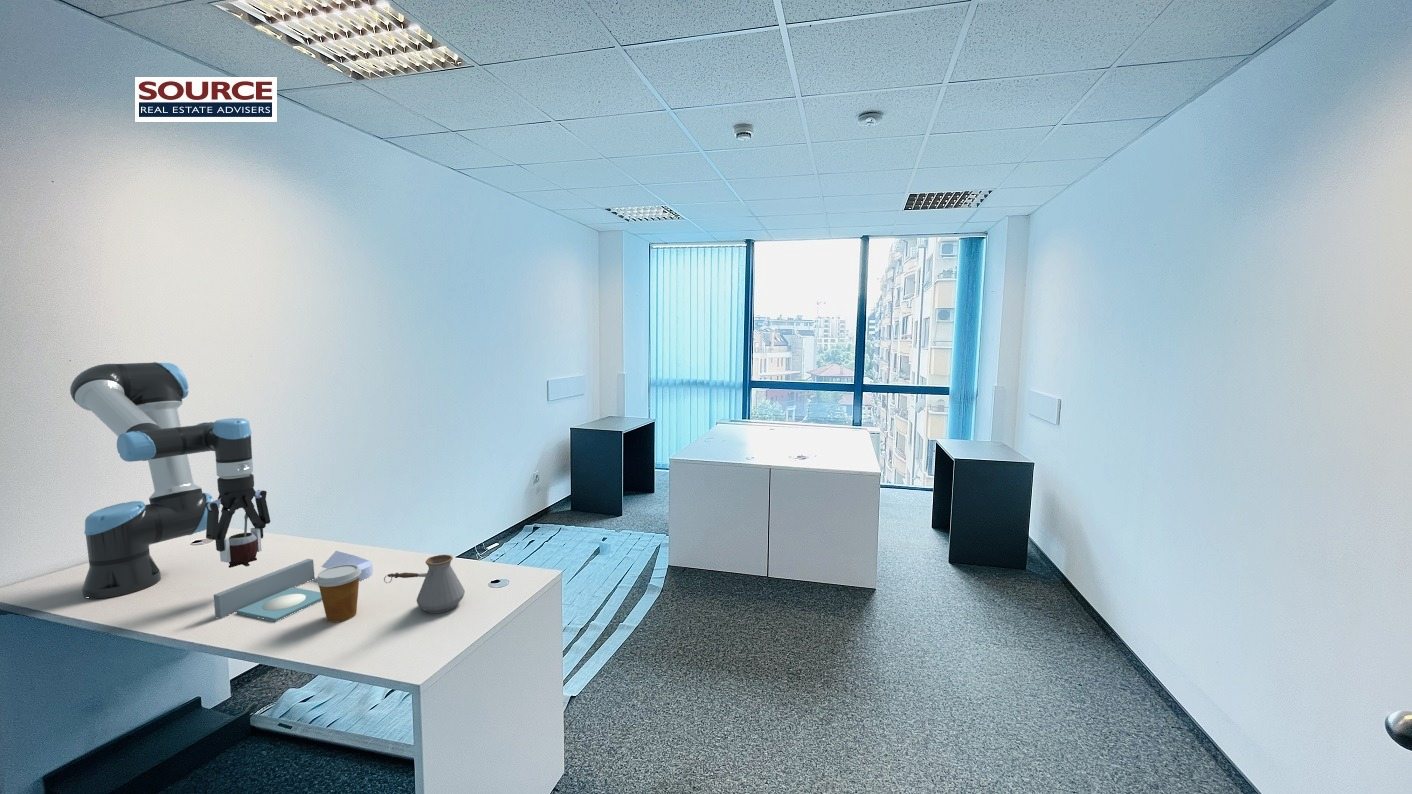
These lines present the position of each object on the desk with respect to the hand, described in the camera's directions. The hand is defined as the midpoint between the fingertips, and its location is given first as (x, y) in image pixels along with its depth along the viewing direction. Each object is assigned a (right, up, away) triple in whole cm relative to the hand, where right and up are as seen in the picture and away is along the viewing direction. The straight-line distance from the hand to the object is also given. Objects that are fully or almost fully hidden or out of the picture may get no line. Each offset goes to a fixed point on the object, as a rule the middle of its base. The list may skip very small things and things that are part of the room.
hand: (241, 555), depth 149 cm
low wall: (+9, -11, -2) cm, 14 cm away
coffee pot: (+57, -12, -11) cm, 60 cm away
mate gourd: (0, -2, +1) cm, 2 cm away
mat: (+17, -11, -6) cm, 21 cm away
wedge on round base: (+23, -10, +12) cm, 27 cm away
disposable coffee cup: (+36, -12, -12) cm, 40 cm away
